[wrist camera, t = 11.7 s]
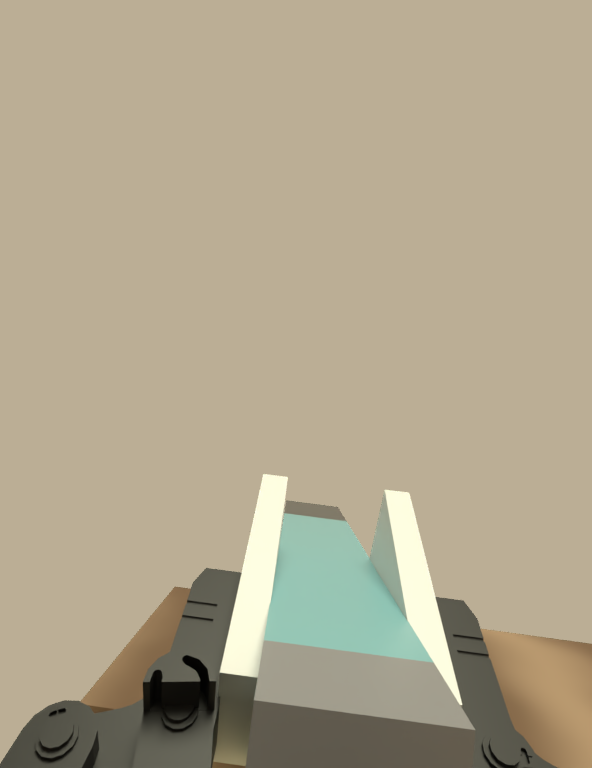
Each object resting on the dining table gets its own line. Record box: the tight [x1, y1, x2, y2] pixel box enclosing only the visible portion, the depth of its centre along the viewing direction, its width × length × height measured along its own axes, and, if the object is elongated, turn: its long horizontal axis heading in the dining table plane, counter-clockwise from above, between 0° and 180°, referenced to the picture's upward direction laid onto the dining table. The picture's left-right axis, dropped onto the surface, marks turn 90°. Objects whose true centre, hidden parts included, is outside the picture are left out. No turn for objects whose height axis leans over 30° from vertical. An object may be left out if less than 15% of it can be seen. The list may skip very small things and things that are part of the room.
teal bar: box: [245, 501, 476, 768], centre depth 17 cm, size 3×22×3 cm, turn 0°
